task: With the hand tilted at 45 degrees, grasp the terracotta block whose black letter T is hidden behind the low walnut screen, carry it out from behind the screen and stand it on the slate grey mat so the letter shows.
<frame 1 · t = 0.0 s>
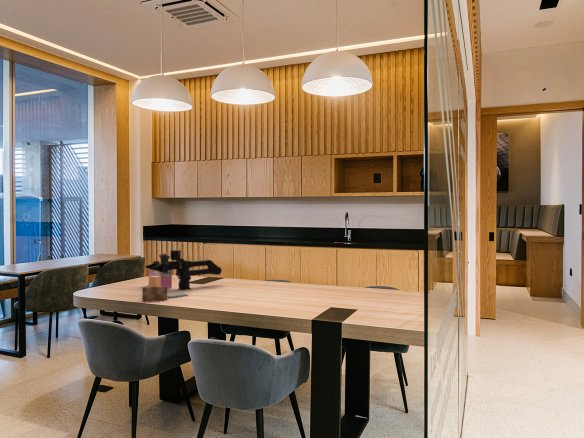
hand: (147, 267, 293), 17 cm above the table, tool horizontal, fingers open, 9 cm apart
letter block: (154, 297, 277), on the table
gum box: (160, 287, 316), on the table
walnut screen: (154, 300, 268), on the table
grey mat: (174, 295, 283), on the table
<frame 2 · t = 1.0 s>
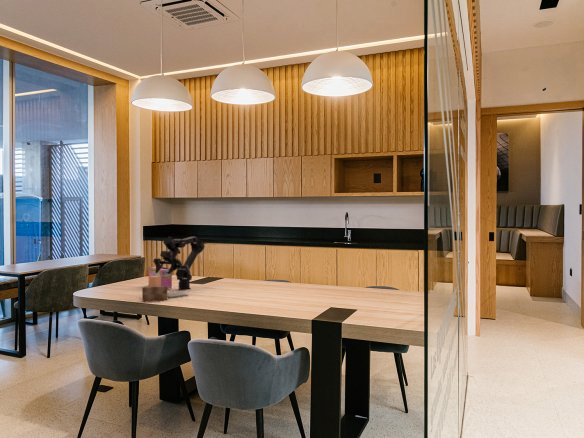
hand: (162, 273, 285), 14 cm above the table, tool tilted 45°, fingers open, 9 cm apart
nothing on the table moved.
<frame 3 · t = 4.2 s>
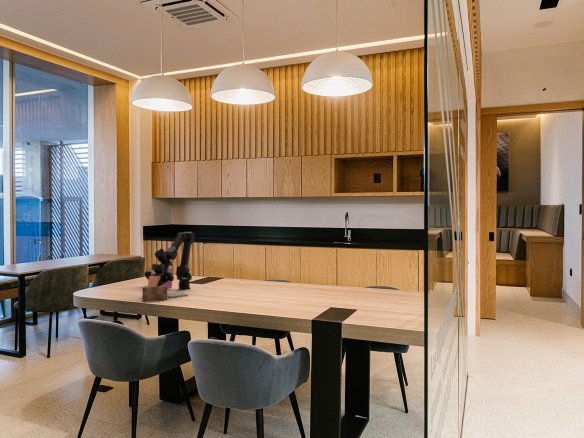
hand: (153, 287, 276), 7 cm above the table, tool tilted 45°, fingers closed on letter block, 5 cm apart
letter block: (154, 297, 277), on the table, touching gripper
everything else where it was.
when the fingers open (9 cm above the table, at t = 10.1 s): letter block drops 1 cm, resting on grey mat.
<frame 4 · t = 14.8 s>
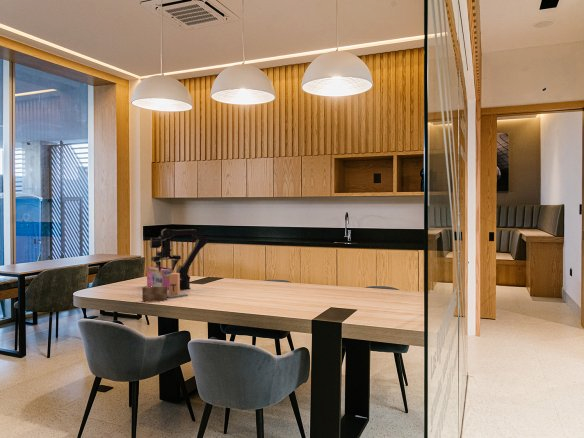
hand: (166, 270, 303), 13 cm above the table, tool pointing down, fingers open, 9 cm apart
letter block: (174, 294, 283), point 1 cm above the table, touching grey mat
at the end: letter block inside the target area on the grey mat (0.0 cm from its centre), point 1.0 cm above the grey mat's base; letter block tilted 0°; the gripper is holding nothing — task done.
